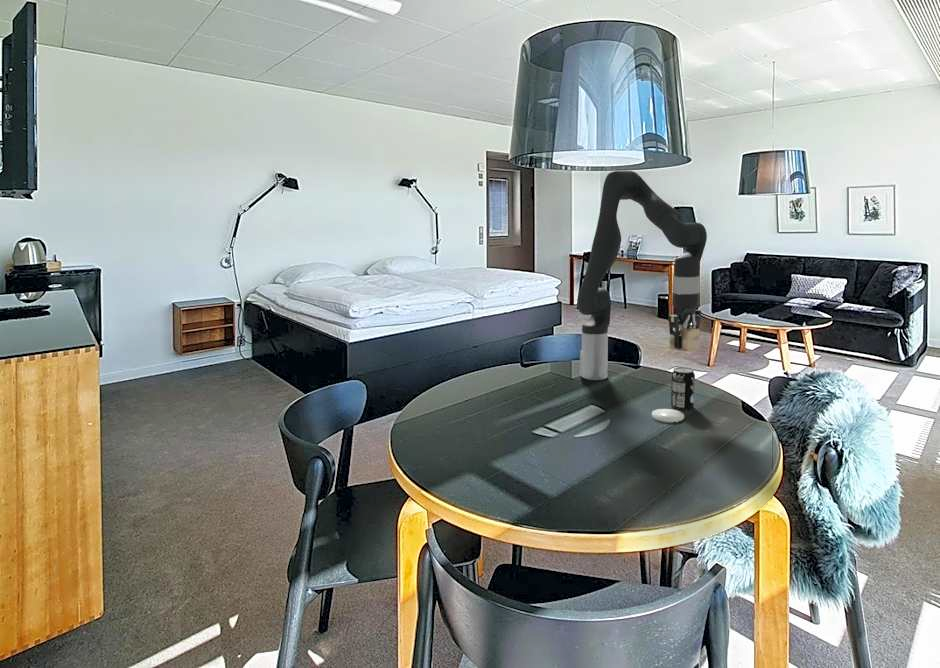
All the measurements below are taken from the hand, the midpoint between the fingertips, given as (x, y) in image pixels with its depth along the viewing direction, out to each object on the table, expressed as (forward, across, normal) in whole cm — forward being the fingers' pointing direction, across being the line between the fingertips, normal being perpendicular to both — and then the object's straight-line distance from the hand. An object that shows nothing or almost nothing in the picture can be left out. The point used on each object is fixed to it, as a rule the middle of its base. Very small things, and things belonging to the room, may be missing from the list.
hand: (684, 346), depth 168 cm
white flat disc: (+19, +11, +2) cm, 22 cm away
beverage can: (+20, 0, 0) cm, 20 cm away
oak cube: (+1, 0, 0) cm, 1 cm away
